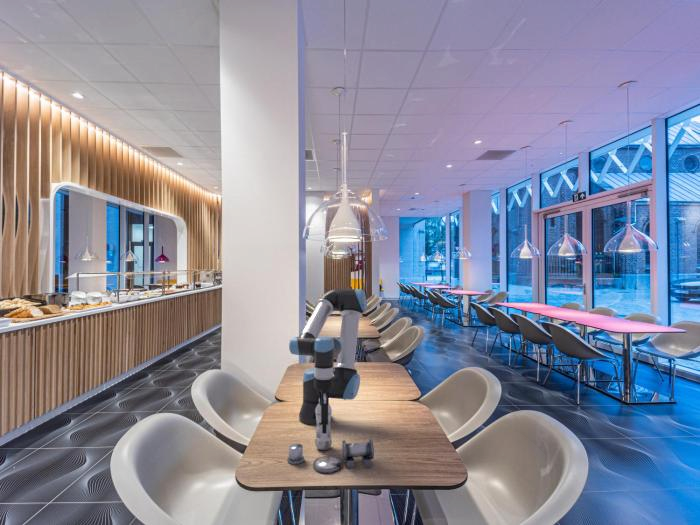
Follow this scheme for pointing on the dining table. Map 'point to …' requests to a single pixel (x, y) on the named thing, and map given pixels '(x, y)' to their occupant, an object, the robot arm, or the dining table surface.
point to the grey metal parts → (346, 457)
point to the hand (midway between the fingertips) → (323, 436)
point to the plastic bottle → (320, 444)
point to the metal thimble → (295, 454)
